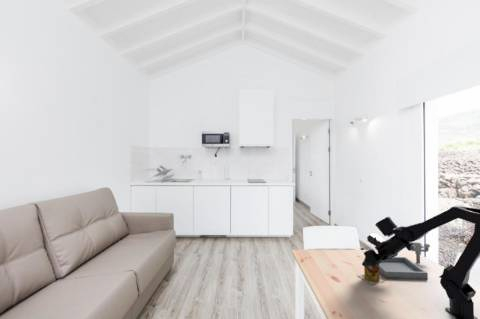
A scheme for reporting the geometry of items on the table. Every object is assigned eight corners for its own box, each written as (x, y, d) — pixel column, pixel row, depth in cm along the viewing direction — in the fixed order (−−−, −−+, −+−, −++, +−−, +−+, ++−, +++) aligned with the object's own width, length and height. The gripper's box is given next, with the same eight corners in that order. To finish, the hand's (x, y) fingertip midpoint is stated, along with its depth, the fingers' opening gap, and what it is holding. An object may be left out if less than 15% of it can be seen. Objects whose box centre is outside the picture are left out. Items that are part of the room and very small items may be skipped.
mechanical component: (430, 264, 126) (430, 244, 126) (408, 262, 128) (408, 243, 128) (427, 261, 129) (427, 242, 129) (406, 260, 131) (405, 241, 131)
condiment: (372, 284, 107) (371, 257, 107) (357, 276, 115) (356, 250, 115) (384, 281, 109) (384, 254, 110) (369, 273, 117) (368, 248, 118)
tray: (427, 279, 111) (427, 272, 111) (385, 278, 113) (385, 271, 113) (405, 262, 129) (405, 257, 129) (369, 261, 130) (369, 256, 130)
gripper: (390, 225, 114) (367, 242, 123) (368, 232, 104) (344, 250, 113) (409, 247, 107) (383, 263, 116) (387, 257, 97) (361, 274, 106)
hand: (368, 262), depth 113 cm, fingers open, 9 cm apart
